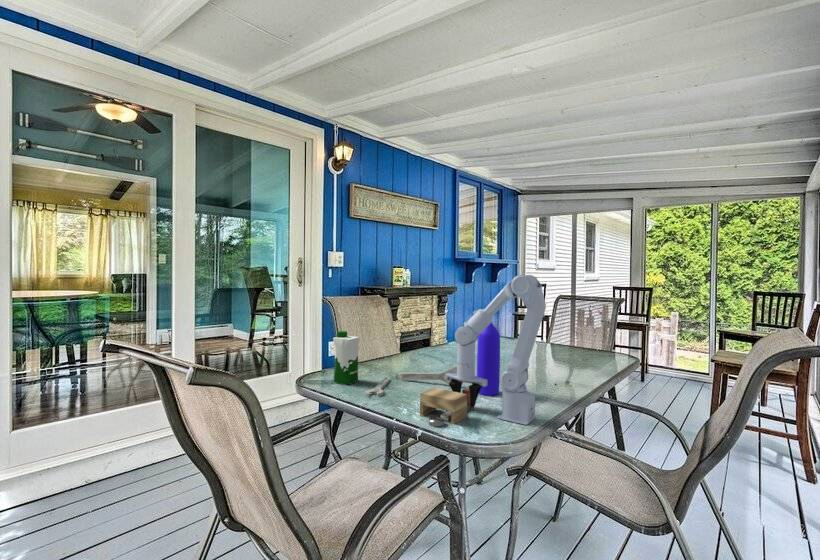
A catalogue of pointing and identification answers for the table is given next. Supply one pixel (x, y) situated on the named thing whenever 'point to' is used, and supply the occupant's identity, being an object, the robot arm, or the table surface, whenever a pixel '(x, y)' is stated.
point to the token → (436, 422)
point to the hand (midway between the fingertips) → (465, 404)
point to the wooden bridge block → (444, 403)
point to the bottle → (489, 360)
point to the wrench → (427, 376)
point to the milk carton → (346, 358)
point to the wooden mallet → (447, 415)
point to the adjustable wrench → (378, 388)
